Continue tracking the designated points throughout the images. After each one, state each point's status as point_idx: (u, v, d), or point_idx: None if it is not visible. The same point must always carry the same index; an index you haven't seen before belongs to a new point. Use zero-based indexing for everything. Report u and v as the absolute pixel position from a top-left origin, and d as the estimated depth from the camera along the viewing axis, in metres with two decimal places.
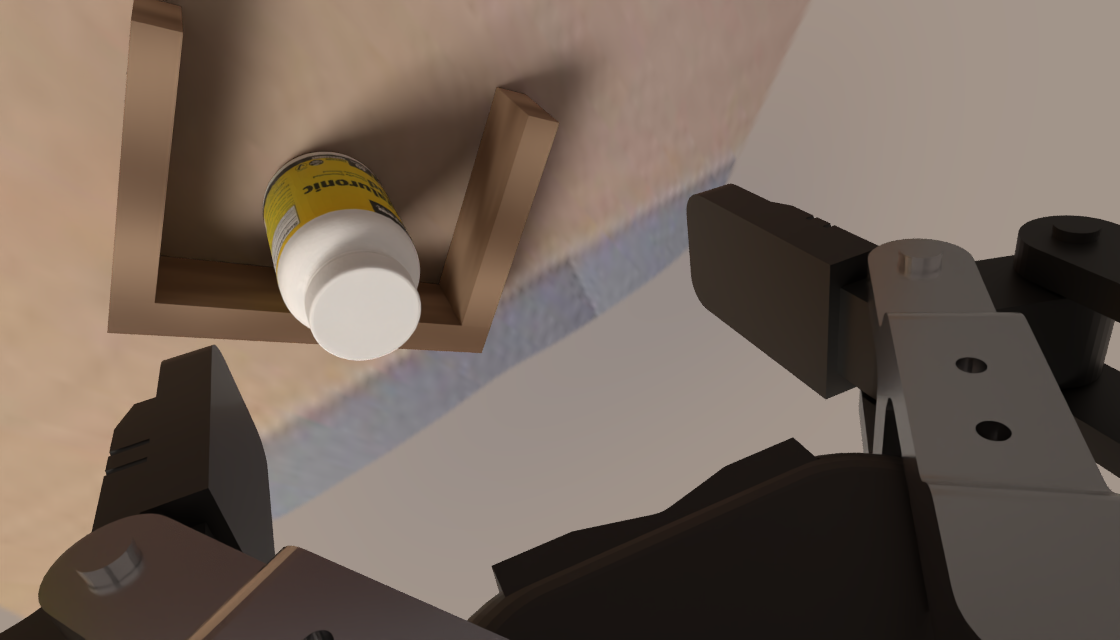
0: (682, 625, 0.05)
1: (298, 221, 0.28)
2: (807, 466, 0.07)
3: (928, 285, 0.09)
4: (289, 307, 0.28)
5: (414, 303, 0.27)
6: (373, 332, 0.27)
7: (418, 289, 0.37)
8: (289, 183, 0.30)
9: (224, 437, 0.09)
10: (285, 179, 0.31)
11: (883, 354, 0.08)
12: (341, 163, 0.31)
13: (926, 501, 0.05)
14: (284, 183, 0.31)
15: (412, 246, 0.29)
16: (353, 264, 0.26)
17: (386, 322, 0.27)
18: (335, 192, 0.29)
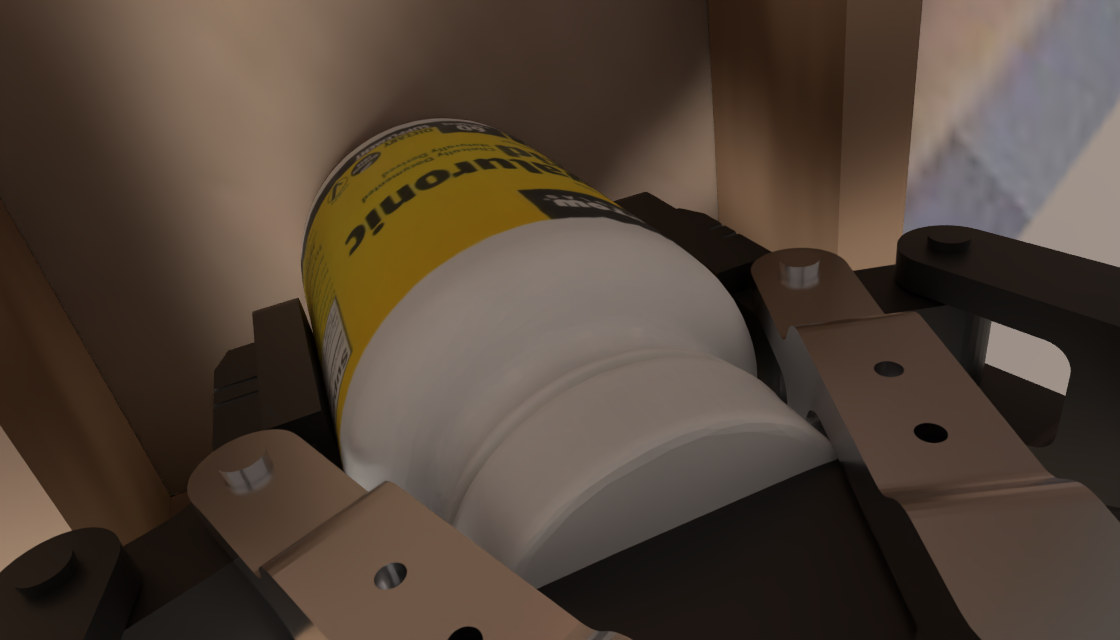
0: (682, 625, 0.05)
1: (348, 347, 0.09)
2: None
3: (799, 294, 0.09)
4: None
5: None
6: None
7: None
8: (321, 243, 0.12)
9: (318, 376, 0.10)
10: (315, 235, 0.12)
11: (793, 366, 0.08)
12: (422, 138, 0.12)
13: None
14: (314, 248, 0.12)
15: (704, 271, 0.09)
16: (564, 467, 0.06)
17: None
18: (422, 214, 0.09)
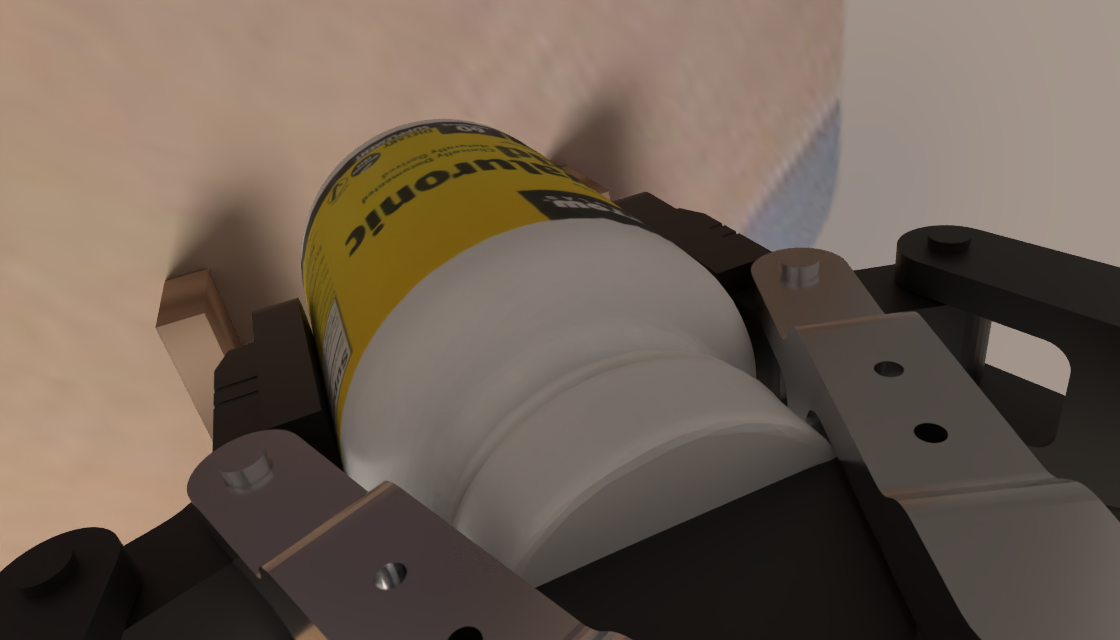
0: (682, 625, 0.05)
1: (349, 348, 0.09)
2: None
3: (800, 293, 0.09)
4: None
5: None
6: None
7: None
8: (321, 244, 0.12)
9: (318, 376, 0.10)
10: (315, 236, 0.12)
11: (794, 367, 0.08)
12: (422, 139, 0.12)
13: None
14: (314, 248, 0.12)
15: (703, 272, 0.09)
16: (564, 467, 0.06)
17: None
18: (421, 215, 0.09)
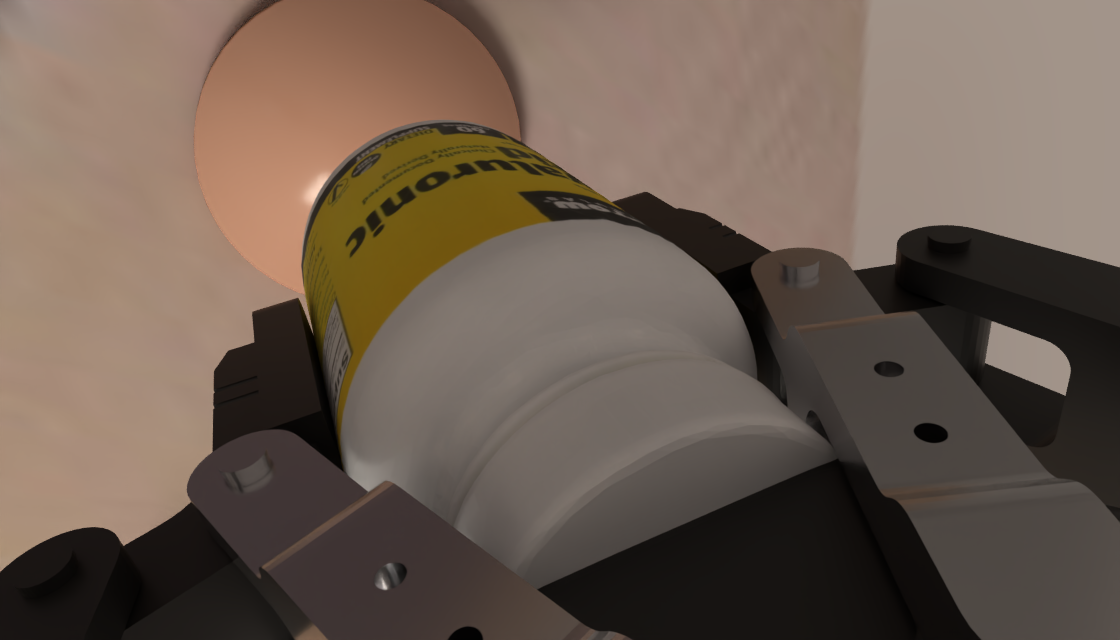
0: (682, 625, 0.05)
1: (348, 348, 0.09)
2: None
3: (799, 294, 0.09)
4: None
5: None
6: None
7: None
8: (322, 244, 0.12)
9: (318, 376, 0.10)
10: (316, 237, 0.12)
11: (793, 367, 0.08)
12: (422, 140, 0.12)
13: None
14: (314, 249, 0.12)
15: (704, 273, 0.09)
16: (566, 470, 0.06)
17: None
18: (421, 216, 0.09)
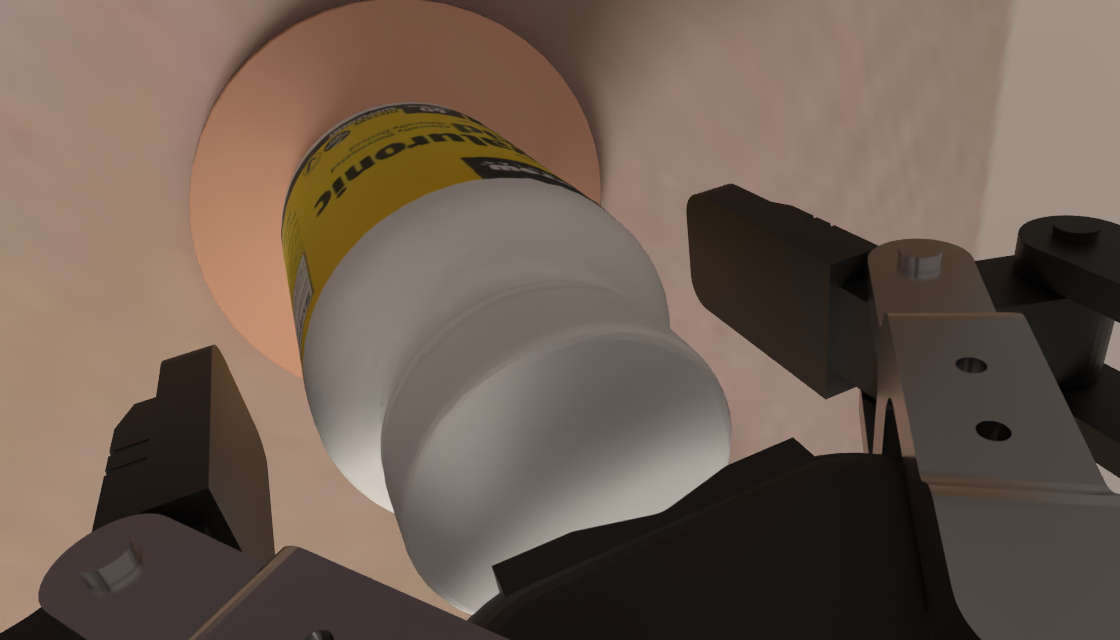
0: (682, 625, 0.05)
1: (310, 289, 0.10)
2: (807, 466, 0.07)
3: (927, 285, 0.09)
4: (387, 509, 0.11)
5: (701, 392, 0.08)
6: (618, 520, 0.09)
7: None
8: (296, 210, 0.13)
9: (224, 437, 0.09)
10: (292, 205, 0.14)
11: (883, 354, 0.08)
12: (387, 118, 0.14)
13: (926, 501, 0.05)
14: (290, 215, 0.13)
15: (616, 225, 0.10)
16: (470, 367, 0.07)
17: (643, 479, 0.09)
18: (376, 178, 0.11)
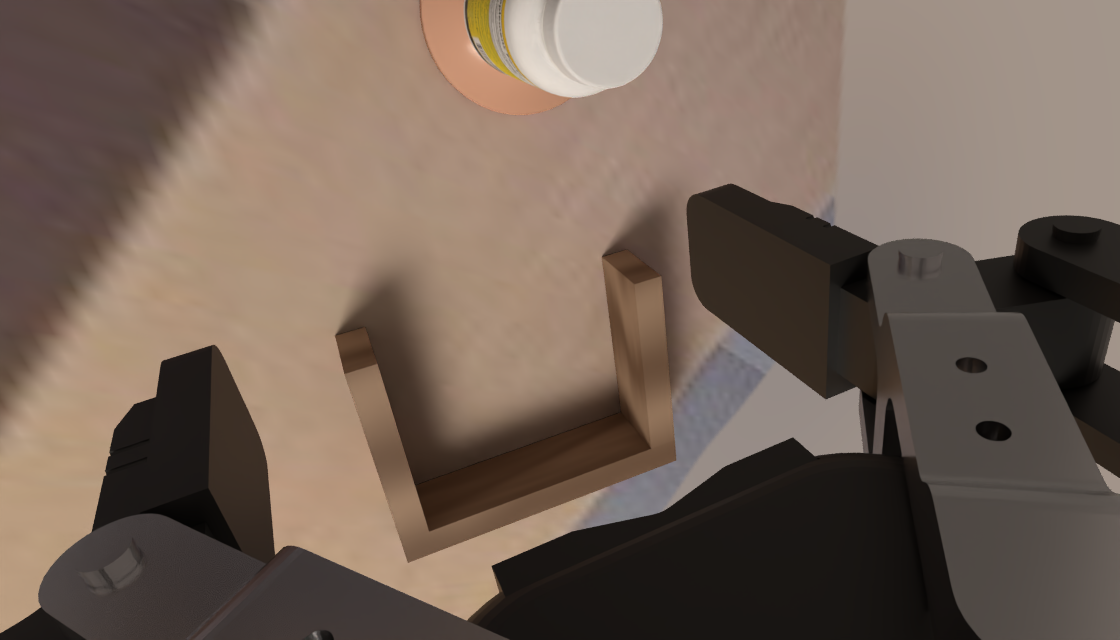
0: (682, 625, 0.05)
1: None
2: (807, 466, 0.07)
3: (928, 285, 0.09)
4: (532, 73, 0.27)
5: None
6: (622, 46, 0.25)
7: (606, 426, 0.45)
8: None
9: (224, 437, 0.09)
10: None
11: (883, 354, 0.08)
12: None
13: (926, 501, 0.05)
14: None
15: None
16: None
17: (631, 29, 0.25)
18: None
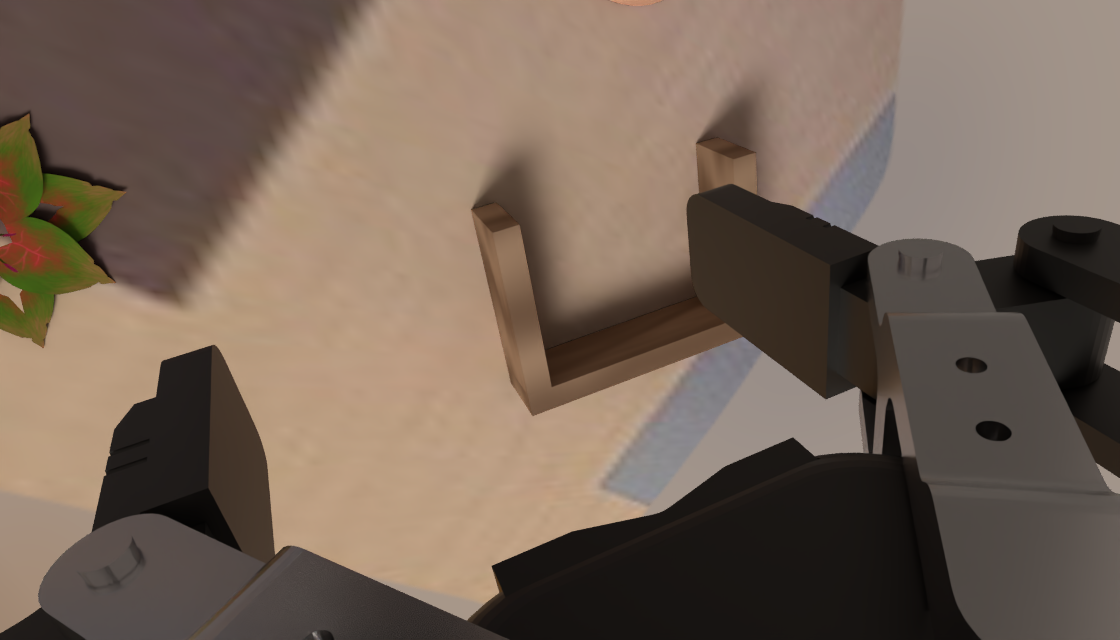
0: (682, 625, 0.05)
1: None
2: (807, 466, 0.07)
3: (928, 285, 0.09)
4: None
5: None
6: None
7: (694, 303, 0.50)
8: None
9: (224, 437, 0.09)
10: None
11: (883, 354, 0.08)
12: None
13: (926, 501, 0.05)
14: None
15: None
16: None
17: None
18: None
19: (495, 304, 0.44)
